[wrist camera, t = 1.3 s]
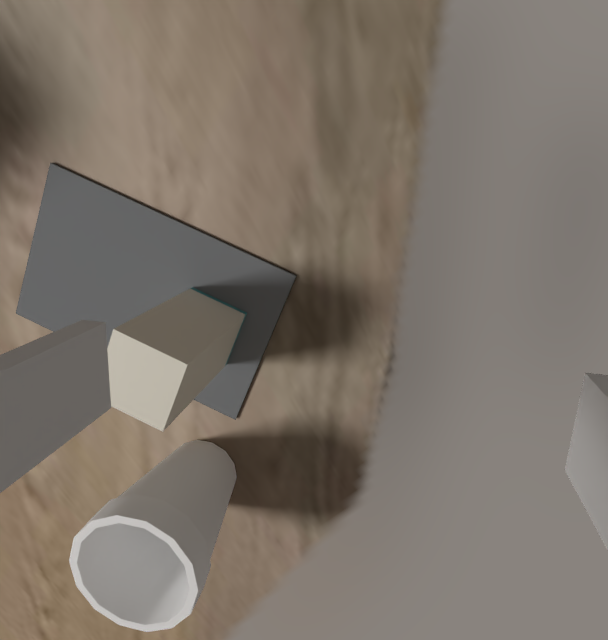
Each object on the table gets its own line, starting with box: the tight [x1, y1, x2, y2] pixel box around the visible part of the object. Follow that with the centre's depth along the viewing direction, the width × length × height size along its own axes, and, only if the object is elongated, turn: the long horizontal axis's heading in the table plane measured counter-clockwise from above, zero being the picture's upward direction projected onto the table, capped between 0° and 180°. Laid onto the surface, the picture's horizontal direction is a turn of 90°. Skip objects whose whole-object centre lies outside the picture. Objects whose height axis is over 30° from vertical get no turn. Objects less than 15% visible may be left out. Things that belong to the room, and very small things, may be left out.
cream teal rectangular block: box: [107, 287, 247, 431], centre depth 37 cm, size 5×5×12 cm
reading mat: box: [16, 163, 296, 419], centre depth 43 cm, size 22×14×1 cm, turn 67°
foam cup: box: [69, 440, 237, 632], centre depth 41 cm, size 10×9×13 cm
